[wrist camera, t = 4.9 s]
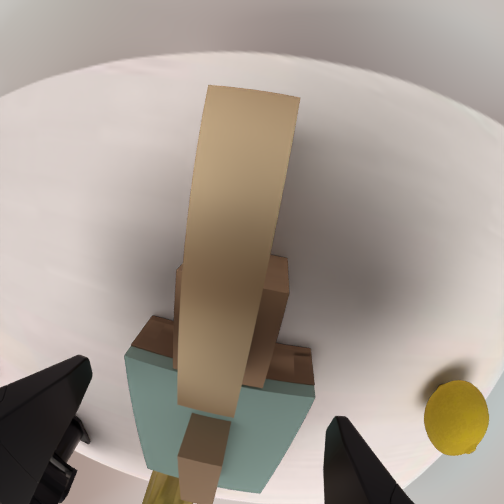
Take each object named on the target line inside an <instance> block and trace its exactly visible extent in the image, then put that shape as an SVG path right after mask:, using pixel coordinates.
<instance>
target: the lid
mask: <svg viewBox="0 0 504 504" xmlns="http://www.w3.org/2000/svg"><path fill="white" fill-rule="evenodd" d="M124 359H125V366H126V373H127V379H128V385H129V391H130V397H131V402H132V407H133V412H134V417H135V422H136V426H137V430H138V435H139V439H140V443H141V447H142V450H143V454H144V458H145V461H146V465H147V468H148V469H151V470H154V471H157V472H160V473H163V474H167V475H170V476H173V477H177V478H179V485H180V496H181V500H184V501H188V502H192V503H197V504H213V501H214V497H215V493H216V489H217V487H220V488H225V489H231V490H237V491H244V492H251V493H261V492H262V490H263V489H264V487H265V486H266V484H267V482H268V481H269V479H270V478H271V476H272V475H273V473H274V471H275V470H276V468H277V467H278V465H279V463H280V462H281V460H282V458H283V457H284V455H285V453H286V452H287V450H288V448H289V446H290V445H291V443H292V441H293V439H294V437H295V436H296V434H297V432H298V430H299V428H300V426H301V425H302V423H303V421H304V419H305V417H306V415H307V413H308V411H309V409H310V407H311V405H312V403H313V401H314V399H315V390H314V386H313V385H305V384H297V383H290V382H283V381H276V380H270V379H265V382H264V385H263V388H258V387H253V386H247V385H242V386H241V390H240V394H239V399H238V403H237V407H236V411H235V415H234V418H232V417H227V416H222V415H217V414H213V413H208V412H204V411H200V410H196V409H192V408H188V407H184V406H181V405H177V374H178V370H177V369H173V358H170V357H166V356H163V355H159V354H156V353H152V352H149V351H146V350H143V349H139V348H136V347H133V346H131V347H130V348H129V349H128V351H127V352H126V354H125V355H124Z"/></svg>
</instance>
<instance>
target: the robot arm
mask: <svg viewBox="0 0 504 504" xmlns="http://www.w3.org/2000/svg"><path fill="white" fill-rule="evenodd" d="M91 379H92V369H91V365H90V361H89V359H88V358H87V357H85V356H82V355H76V356H74V357H72V358H69V359H67V360H65V361H63V362H60V363H58V364H56V365H53V366H51V367H49V368H46V369H44V370H42V371H39V372H37V373H34V374H32V375H30V376H27V377H25V378H23V379H20V380H18V381H15V382H13V383H10V384H8V386H7V385H5V386H3V387H1V388H0V504H58V503H62V502H63V501H64V499H65V498H66V496H67V495H68V493H69V491H70V488H71V485H72V483H73V480H74V478H75V475H76V473H77V470H76V469H75V468H72V467H71V466H70V465H68V464H67V461H68V459H69V458H70V456H71V454H72V453H73V451H74V450H75V448H76V446H77V445H78V443H79V441H80V440H81V441H83V442H85V443H87V444H90V440H89V438H88V436H87V434H86V432H85V430H84V428H83V425H82V423H81V421H80V420H79V419H78V418H77V417H75V416H74V415H75V414H76V412H77V410H78V408H79V406H80V404H81V401H82V399H83V397H84V395H85V392H86V390H87V388H88V386H89V383H90V381H91ZM323 475H324V500H325V504H414V503H413V501H411V500H410V498H409V497H408V496H407V495H406V494H405V492H404V491H403V490H402V489H401V487H400V486H399V485H398V484H396V481H395V480H394V479H393V477H392V476H391V475H390V473H389V472H388V471H387V469H386V468H385V467H384V465H383V464H382V463H381V462H380V460H379V459H378V458H377V456H376V455H375V454H374V452H373V451H372V450H371V448H370V447H369V446H368V444H367V443H366V442H365V440H364V439H363V438H362V436H361V435H360V434H359V432H358V431H357V430H356V428H355V427H354V426H353V424H352V423H351V422H350V420H349V419H348V418H347V417H346V416H335V417H334V418H333V420H332V422H331V423H330V425H329V426H328V428H327V430H326V437H325V452H324V466H323Z"/></svg>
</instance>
